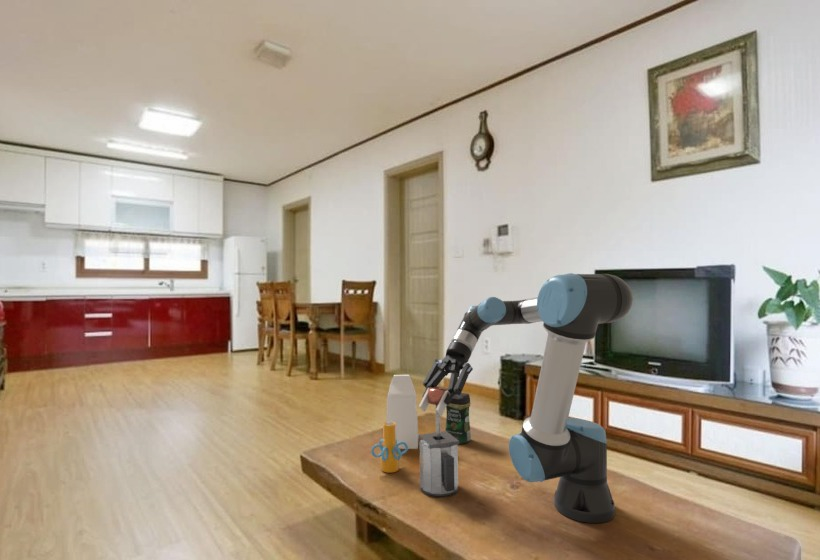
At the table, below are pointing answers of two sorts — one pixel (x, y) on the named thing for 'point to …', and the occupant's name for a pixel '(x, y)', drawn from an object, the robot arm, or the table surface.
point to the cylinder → (389, 449)
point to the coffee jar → (459, 418)
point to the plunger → (434, 398)
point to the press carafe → (438, 465)
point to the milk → (403, 410)
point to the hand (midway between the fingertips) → (430, 410)
